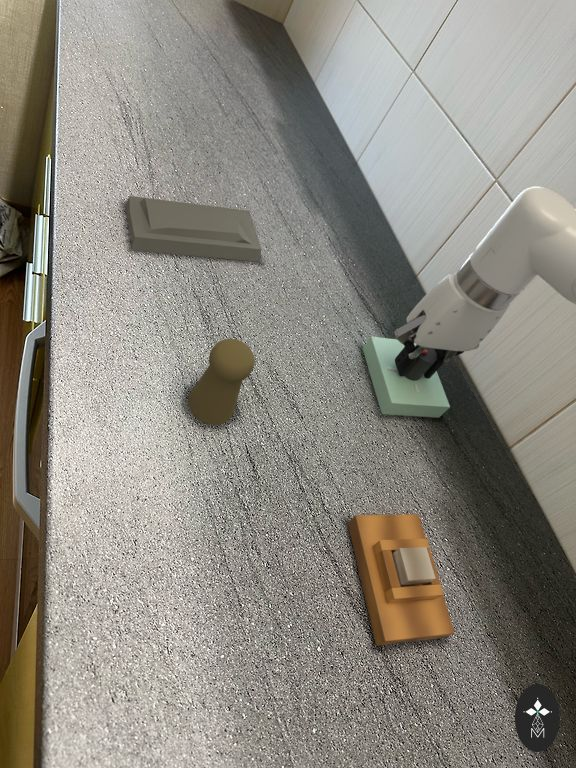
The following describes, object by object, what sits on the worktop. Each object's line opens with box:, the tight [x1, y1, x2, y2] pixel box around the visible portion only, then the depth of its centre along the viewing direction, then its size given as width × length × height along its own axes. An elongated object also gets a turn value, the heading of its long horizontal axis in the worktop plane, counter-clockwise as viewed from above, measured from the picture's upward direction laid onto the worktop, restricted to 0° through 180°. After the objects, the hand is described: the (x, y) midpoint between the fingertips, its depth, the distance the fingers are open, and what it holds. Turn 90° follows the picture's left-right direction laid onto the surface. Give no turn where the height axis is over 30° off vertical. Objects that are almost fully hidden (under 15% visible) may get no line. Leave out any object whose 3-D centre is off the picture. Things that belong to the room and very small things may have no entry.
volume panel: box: [362, 336, 451, 419], centre depth 86 cm, size 10×12×3 cm
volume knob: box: [405, 344, 437, 381], centre depth 83 cm, size 4×4×5 cm
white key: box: [392, 547, 436, 585], centre depth 64 cm, size 4×4×2 cm
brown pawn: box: [187, 338, 256, 426], centre depth 68 cm, size 6×6×11 cm
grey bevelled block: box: [124, 195, 262, 263], centre depth 89 cm, size 10×20×4 cm, turn 105°
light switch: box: [347, 513, 456, 647], centre depth 66 cm, size 9×14×4 cm, turn 10°
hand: (412, 368), depth 84 cm, fingers closed on volume knob, 3 cm apart
